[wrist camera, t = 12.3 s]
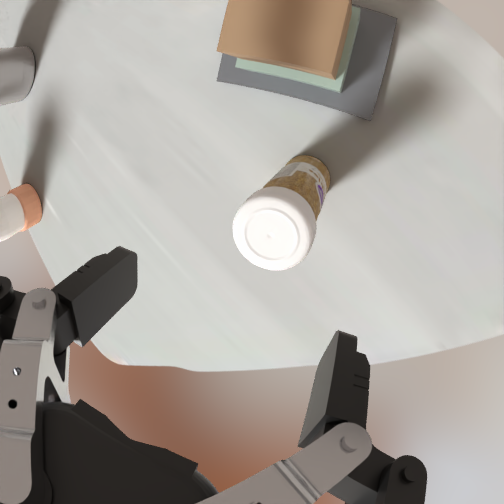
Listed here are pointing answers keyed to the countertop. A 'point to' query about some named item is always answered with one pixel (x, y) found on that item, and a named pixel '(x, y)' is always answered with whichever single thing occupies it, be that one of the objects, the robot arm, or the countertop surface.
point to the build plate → (356, 77)
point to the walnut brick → (288, 33)
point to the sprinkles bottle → (283, 215)
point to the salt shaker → (19, 210)
